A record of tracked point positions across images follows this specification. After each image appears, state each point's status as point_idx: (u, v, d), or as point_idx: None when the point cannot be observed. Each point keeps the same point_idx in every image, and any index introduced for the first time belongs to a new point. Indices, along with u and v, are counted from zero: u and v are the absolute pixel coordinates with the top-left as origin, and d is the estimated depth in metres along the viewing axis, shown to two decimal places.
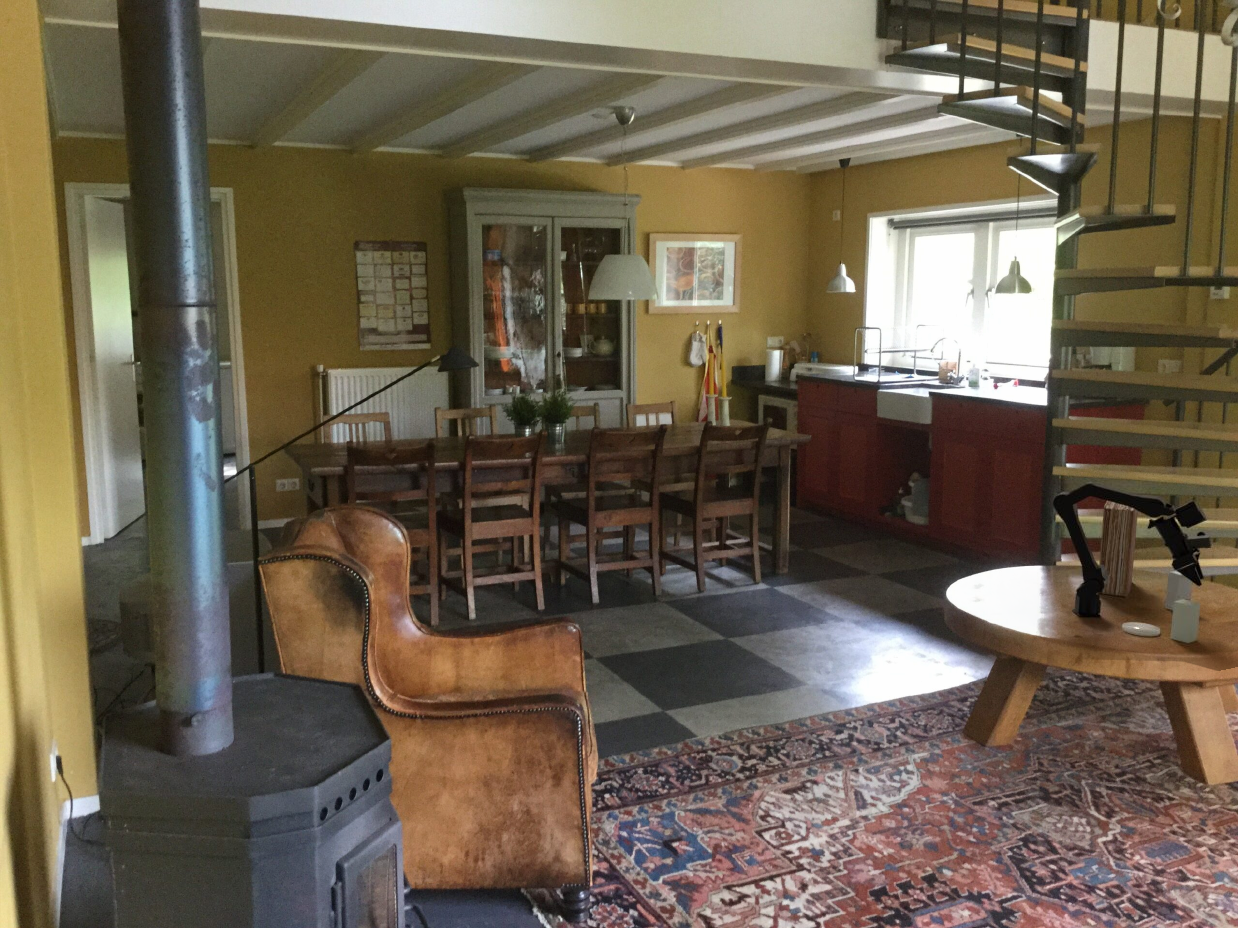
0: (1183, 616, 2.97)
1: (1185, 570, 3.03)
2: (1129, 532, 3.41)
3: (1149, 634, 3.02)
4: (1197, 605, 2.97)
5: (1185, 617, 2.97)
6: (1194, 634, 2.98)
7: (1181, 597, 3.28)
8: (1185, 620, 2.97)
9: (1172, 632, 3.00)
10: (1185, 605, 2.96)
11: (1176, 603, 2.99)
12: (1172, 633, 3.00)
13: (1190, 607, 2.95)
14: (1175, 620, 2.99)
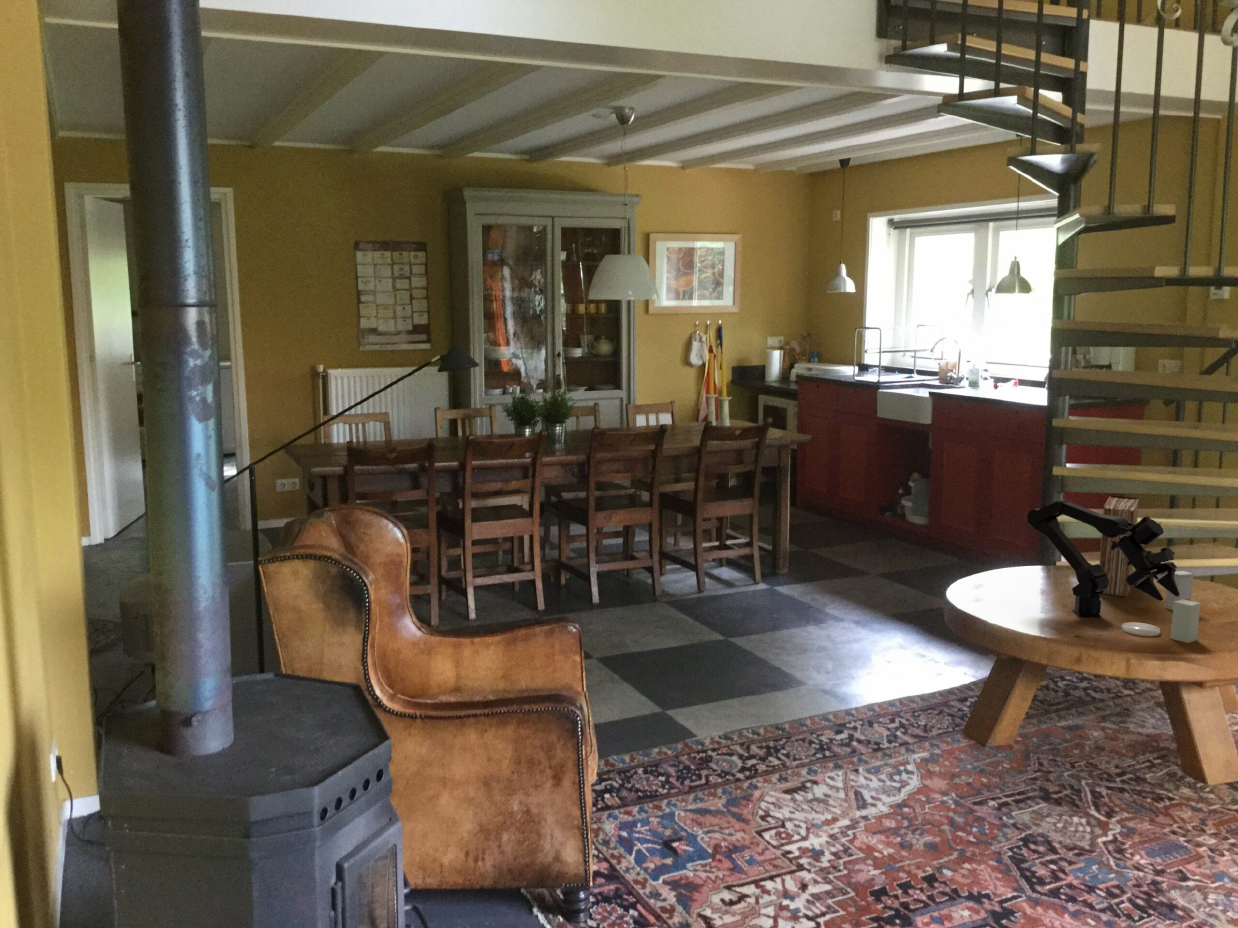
0: (1183, 616, 2.97)
1: (1143, 586, 3.02)
2: None
3: (1149, 634, 3.02)
4: (1197, 605, 2.97)
5: (1185, 617, 2.97)
6: (1194, 634, 2.98)
7: (1181, 597, 3.28)
8: (1184, 620, 2.97)
9: (1172, 632, 3.00)
10: (1185, 605, 2.96)
11: (1176, 603, 2.99)
12: (1172, 633, 3.00)
13: (1190, 607, 2.95)
14: (1175, 620, 2.99)
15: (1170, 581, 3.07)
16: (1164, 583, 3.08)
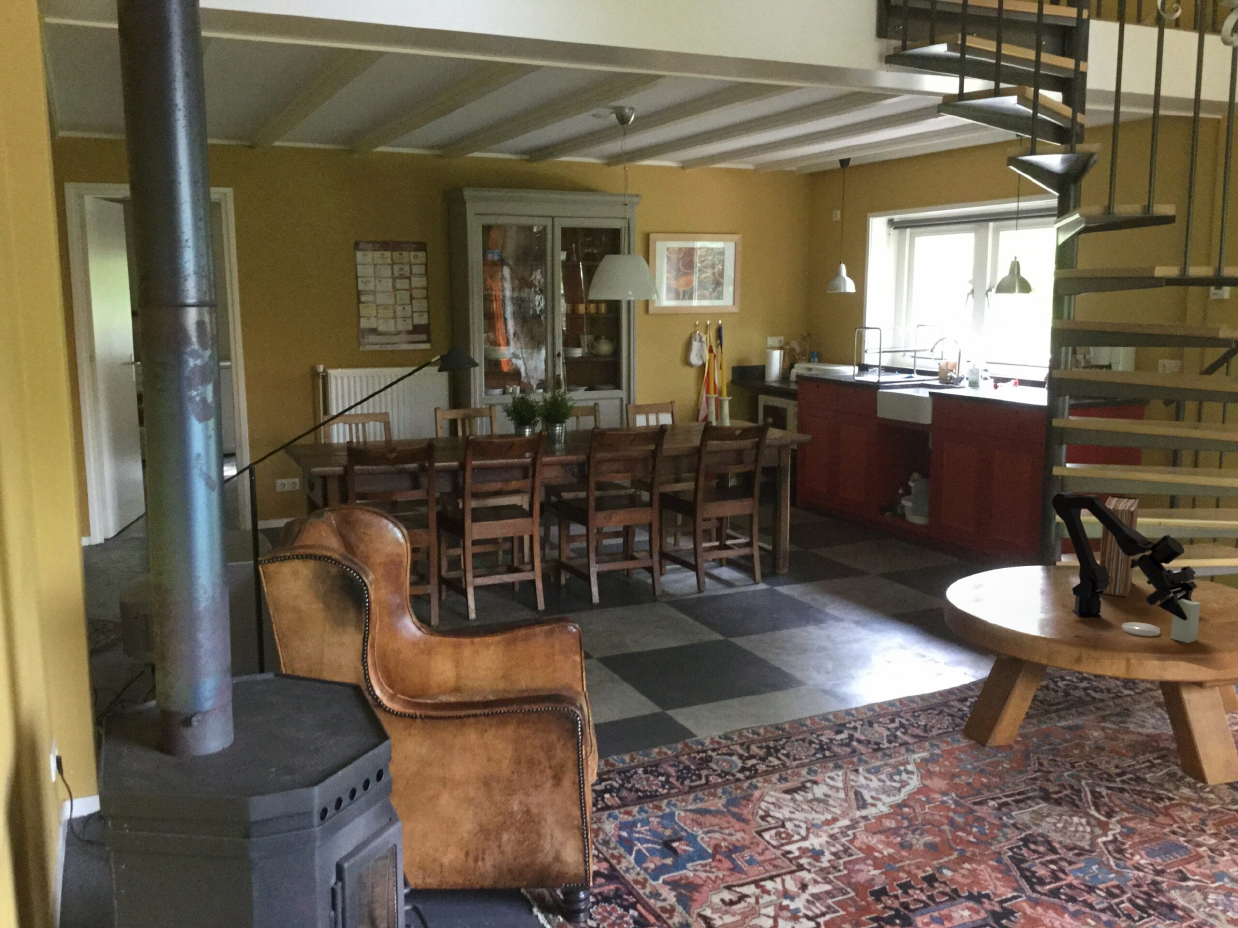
0: None
1: (1167, 605, 2.99)
2: None
3: (1149, 634, 3.02)
4: (1197, 605, 2.97)
5: None
6: (1194, 634, 2.98)
7: None
8: (1185, 620, 2.97)
9: (1172, 632, 3.00)
10: (1185, 605, 2.96)
11: None
12: (1172, 633, 3.00)
13: (1190, 607, 2.95)
14: (1175, 620, 2.99)
15: None
16: None
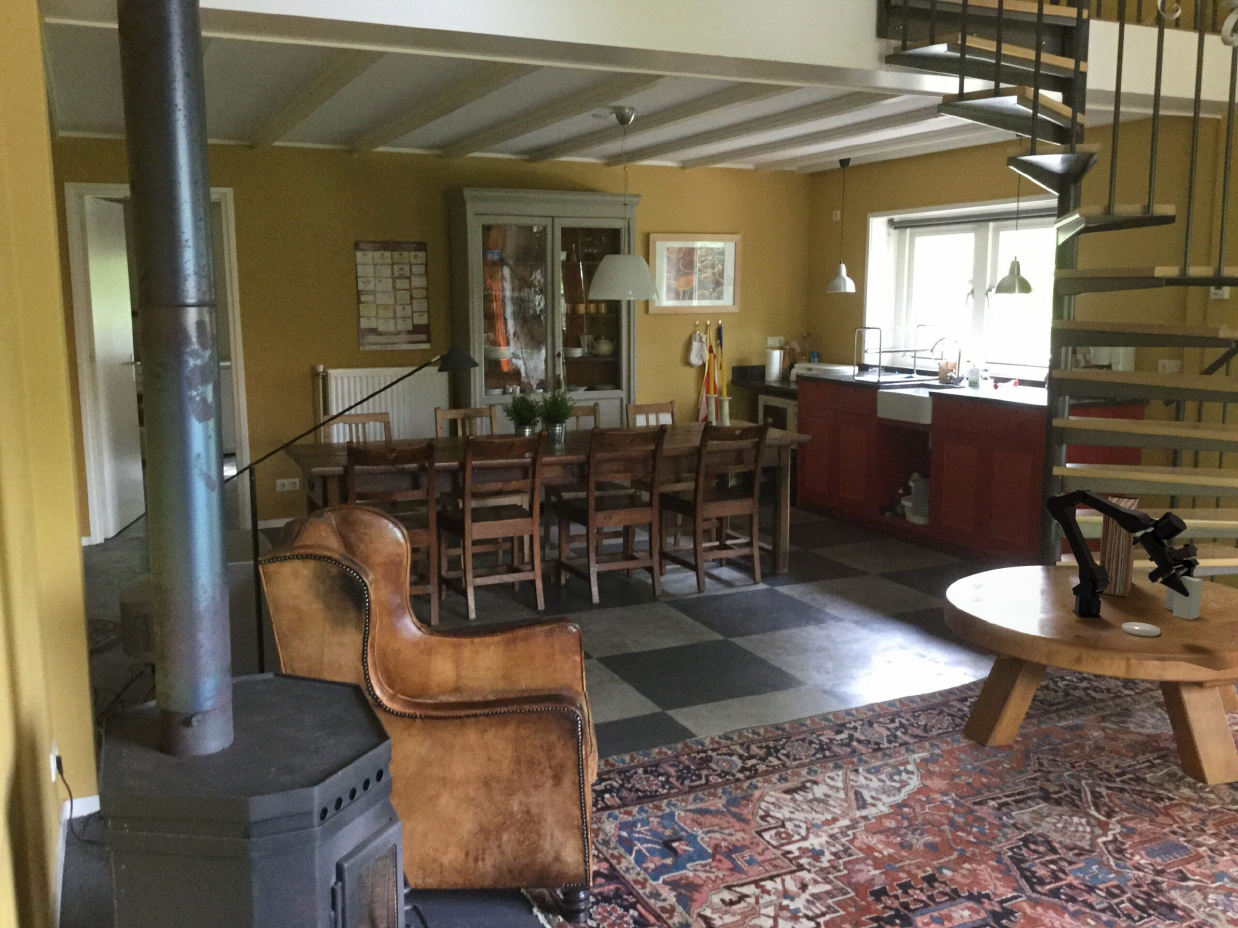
0: None
1: (1169, 581, 2.98)
2: None
3: (1149, 634, 3.02)
4: (1199, 581, 2.96)
5: None
6: (1196, 611, 2.97)
7: None
8: None
9: (1174, 609, 2.99)
10: (1187, 581, 2.95)
11: None
12: (1174, 610, 2.99)
13: (1192, 583, 2.94)
14: (1177, 597, 2.98)
15: None
16: None
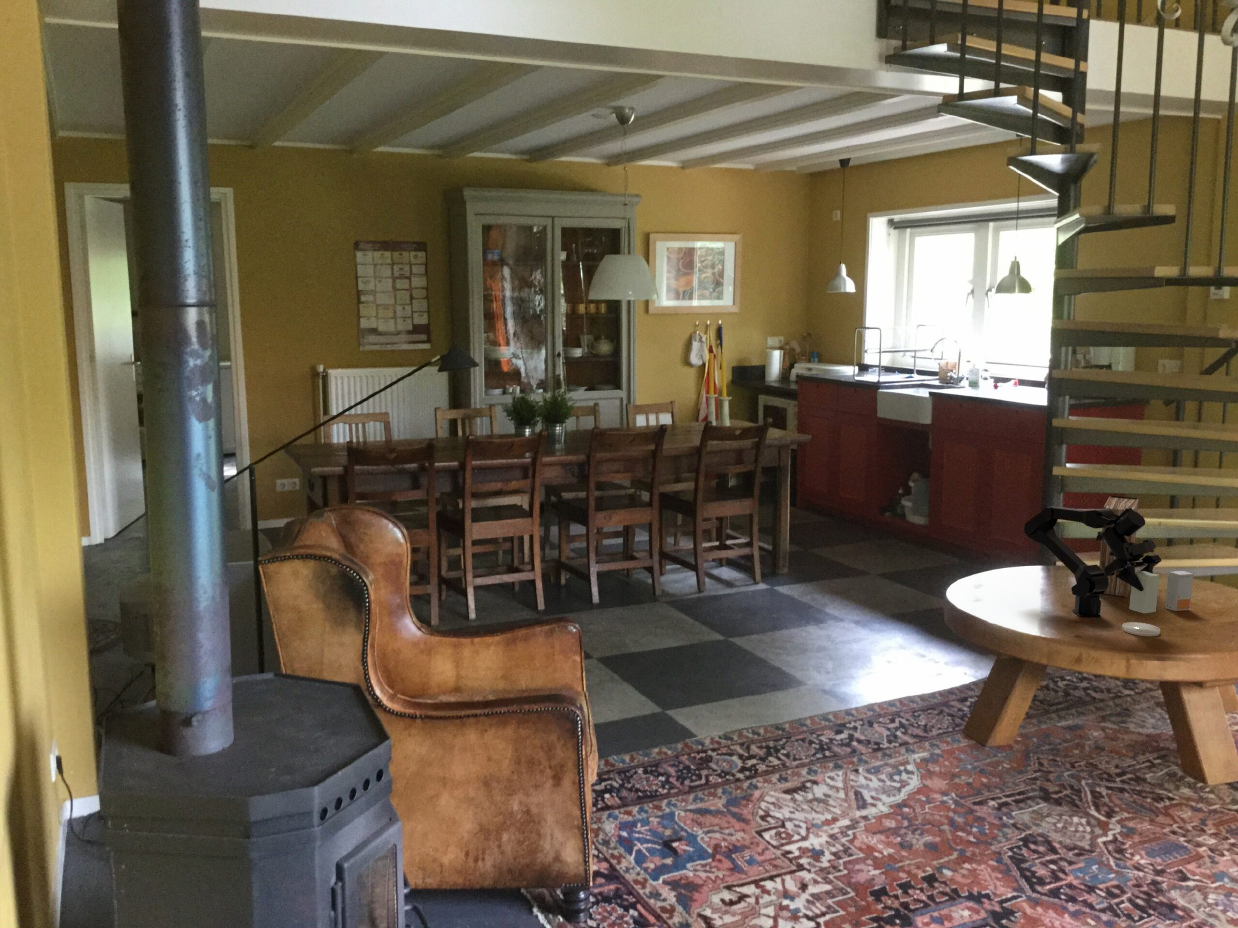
0: None
1: (1125, 576, 3.06)
2: None
3: (1149, 634, 3.02)
4: (1155, 577, 3.03)
5: None
6: (1152, 605, 3.04)
7: (1181, 597, 3.28)
8: (1141, 591, 3.03)
9: (1130, 603, 3.07)
10: (1142, 576, 3.03)
11: None
12: (1131, 604, 3.07)
13: (1146, 578, 3.02)
14: (1133, 591, 3.06)
15: None
16: None
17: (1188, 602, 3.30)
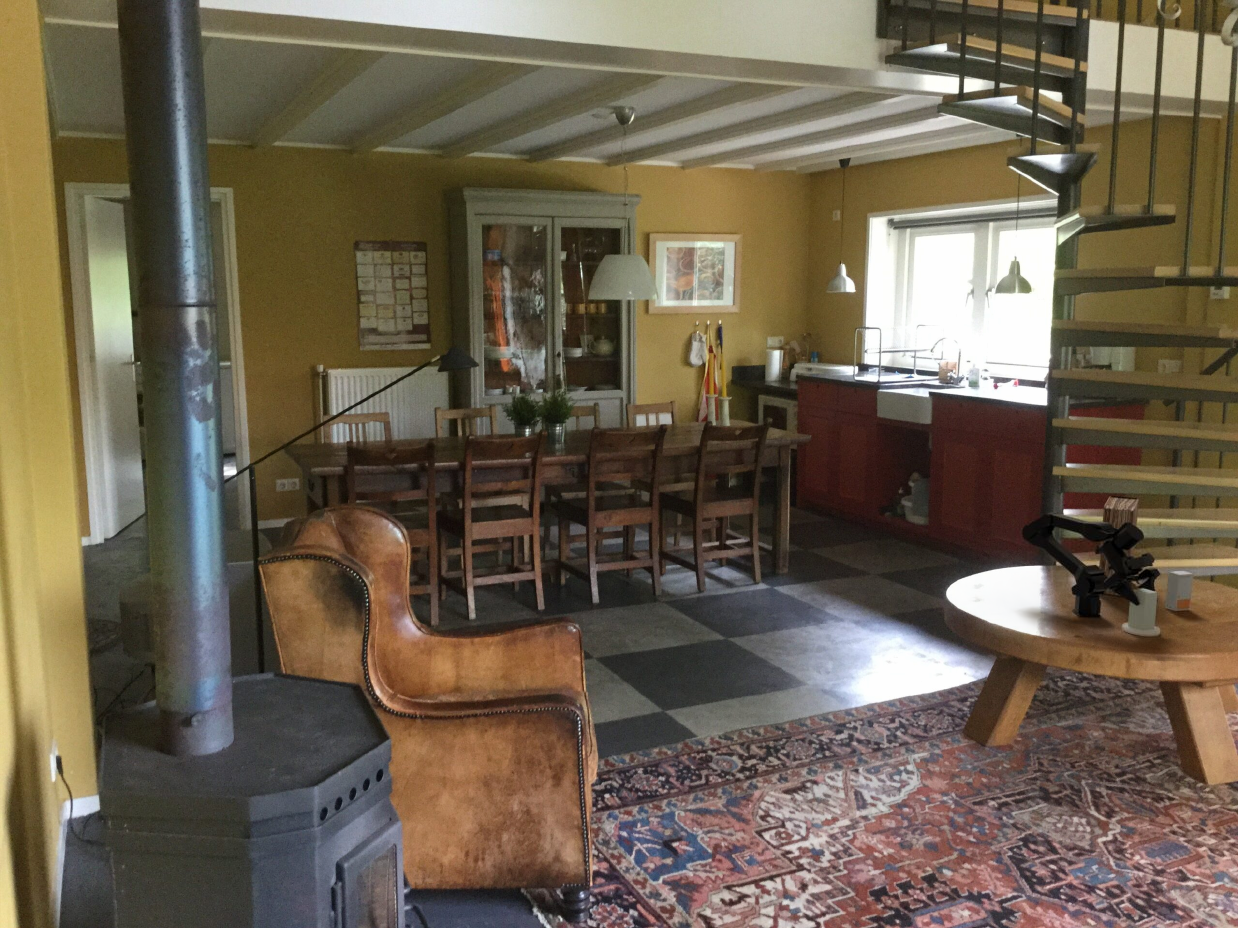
0: None
1: (1121, 590, 3.06)
2: None
3: (1149, 634, 3.02)
4: (1153, 594, 3.04)
5: (1141, 605, 3.04)
6: (1151, 622, 3.05)
7: (1181, 597, 3.28)
8: (1140, 608, 3.04)
9: (1129, 620, 3.08)
10: (1140, 593, 3.04)
11: None
12: (1129, 621, 3.08)
13: (1144, 595, 3.02)
14: (1132, 608, 3.07)
15: (1149, 587, 3.08)
16: None
17: (1188, 602, 3.30)
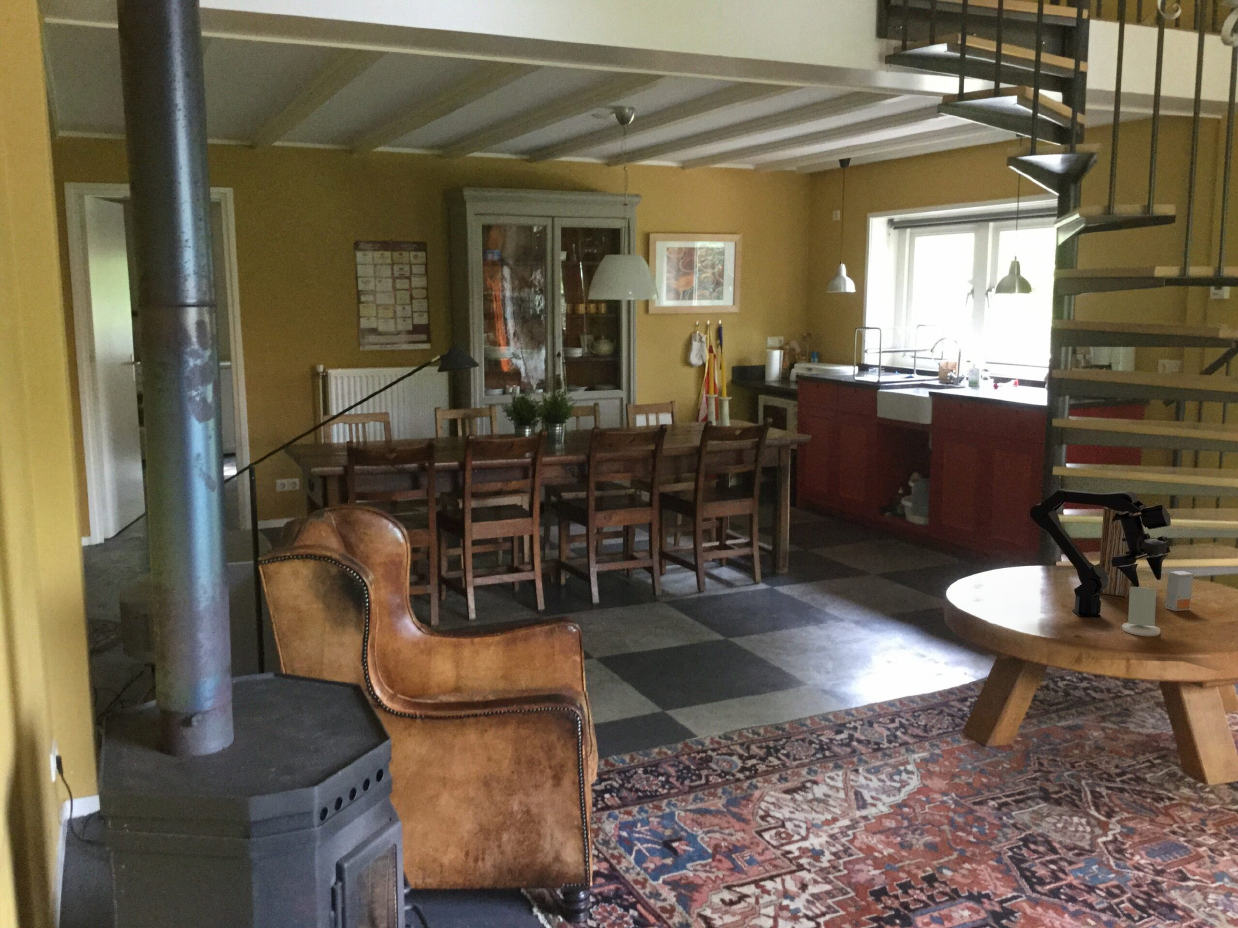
0: (1138, 599, 3.06)
1: (1125, 569, 3.10)
2: None
3: (1149, 634, 3.02)
4: (1152, 589, 3.06)
5: (1140, 600, 3.05)
6: (1150, 619, 3.05)
7: (1181, 597, 3.28)
8: (1139, 603, 3.05)
9: (1129, 617, 3.08)
10: (1139, 588, 3.06)
11: (1131, 587, 3.08)
12: (1129, 618, 3.08)
13: (1143, 589, 3.05)
14: (1131, 604, 3.08)
15: (1157, 564, 3.13)
16: (1151, 564, 3.15)
17: (1188, 602, 3.30)
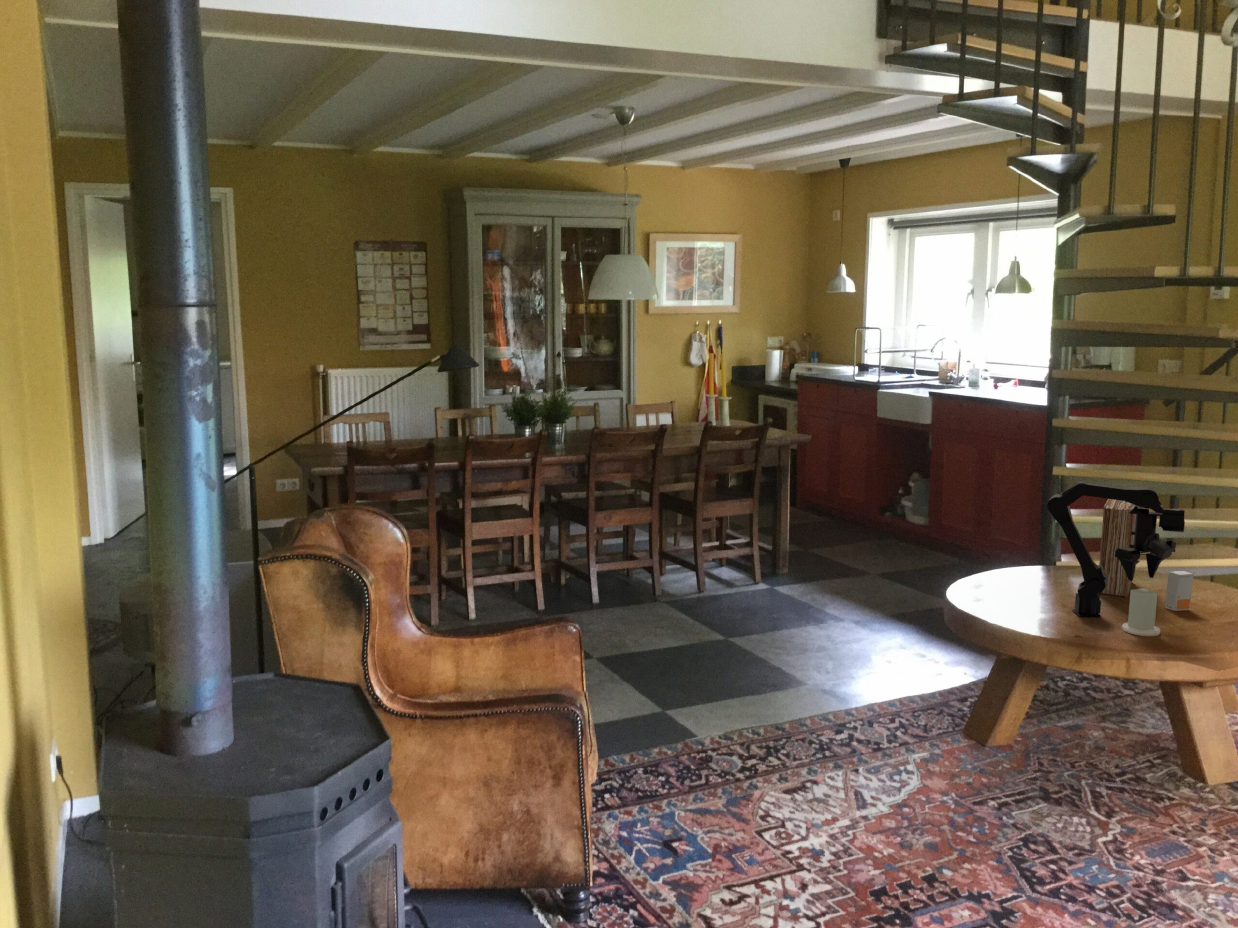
0: (1138, 604, 3.05)
1: (1125, 562, 3.14)
2: (1129, 532, 3.41)
3: (1149, 634, 3.02)
4: (1153, 594, 3.04)
5: (1140, 605, 3.04)
6: (1150, 622, 3.05)
7: (1181, 597, 3.28)
8: (1139, 608, 3.04)
9: (1128, 620, 3.08)
10: (1140, 593, 3.04)
11: (1132, 591, 3.06)
12: (1129, 620, 3.08)
13: (1144, 595, 3.03)
14: (1131, 608, 3.07)
15: (1155, 563, 3.17)
16: (1149, 561, 3.19)
17: (1188, 602, 3.30)
